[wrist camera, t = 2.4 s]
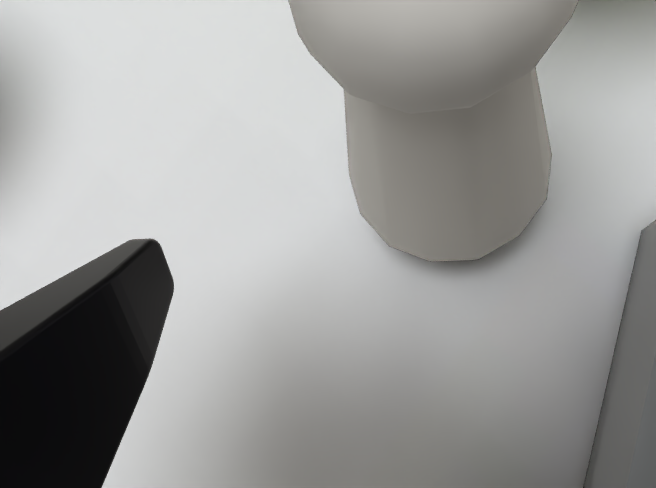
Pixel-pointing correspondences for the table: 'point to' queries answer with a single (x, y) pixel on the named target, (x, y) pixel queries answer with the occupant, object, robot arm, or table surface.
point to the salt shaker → (440, 114)
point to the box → (631, 386)
